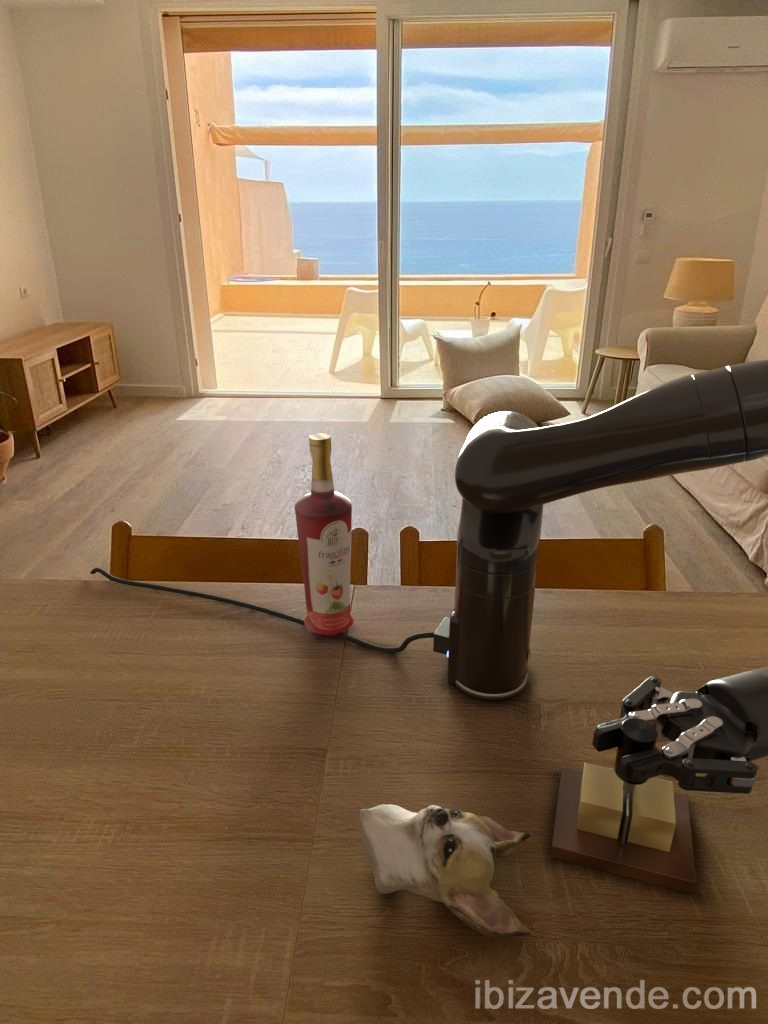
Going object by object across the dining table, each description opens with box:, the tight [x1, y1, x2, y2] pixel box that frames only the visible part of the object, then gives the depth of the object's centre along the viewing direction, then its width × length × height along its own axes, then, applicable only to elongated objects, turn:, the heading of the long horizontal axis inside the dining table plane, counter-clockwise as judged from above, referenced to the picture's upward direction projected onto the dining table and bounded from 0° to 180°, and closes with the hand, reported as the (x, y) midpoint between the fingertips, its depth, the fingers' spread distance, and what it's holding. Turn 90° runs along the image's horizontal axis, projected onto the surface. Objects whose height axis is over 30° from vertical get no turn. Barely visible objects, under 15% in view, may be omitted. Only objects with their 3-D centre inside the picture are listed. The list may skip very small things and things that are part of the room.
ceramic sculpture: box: [358, 803, 533, 939], centre depth 59 cm, size 11×9×15 cm
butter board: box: [550, 762, 697, 895], centre depth 64 cm, size 12×10×5 cm
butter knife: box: [613, 718, 658, 845], centre depth 63 cm, size 3×6×10 cm, turn 162°
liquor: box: [294, 432, 355, 638], centre depth 91 cm, size 7×7×28 cm
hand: (608, 755), depth 60 cm, fingers closed on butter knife, 3 cm apart
